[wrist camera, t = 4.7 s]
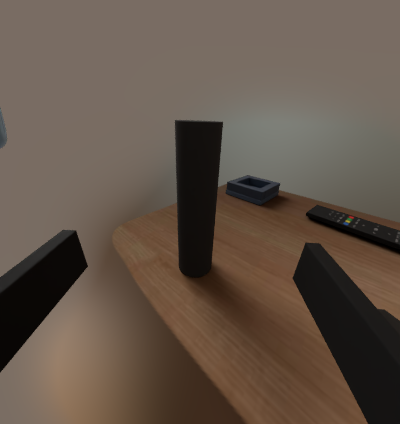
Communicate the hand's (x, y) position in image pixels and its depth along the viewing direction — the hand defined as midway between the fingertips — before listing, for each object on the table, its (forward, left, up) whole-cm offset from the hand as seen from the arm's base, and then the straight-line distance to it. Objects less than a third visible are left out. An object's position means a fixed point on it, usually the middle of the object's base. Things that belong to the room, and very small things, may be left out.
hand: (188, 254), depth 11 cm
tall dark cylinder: (-4, +8, -9) cm, 12 cm away
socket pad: (-5, +36, -9) cm, 37 cm away
